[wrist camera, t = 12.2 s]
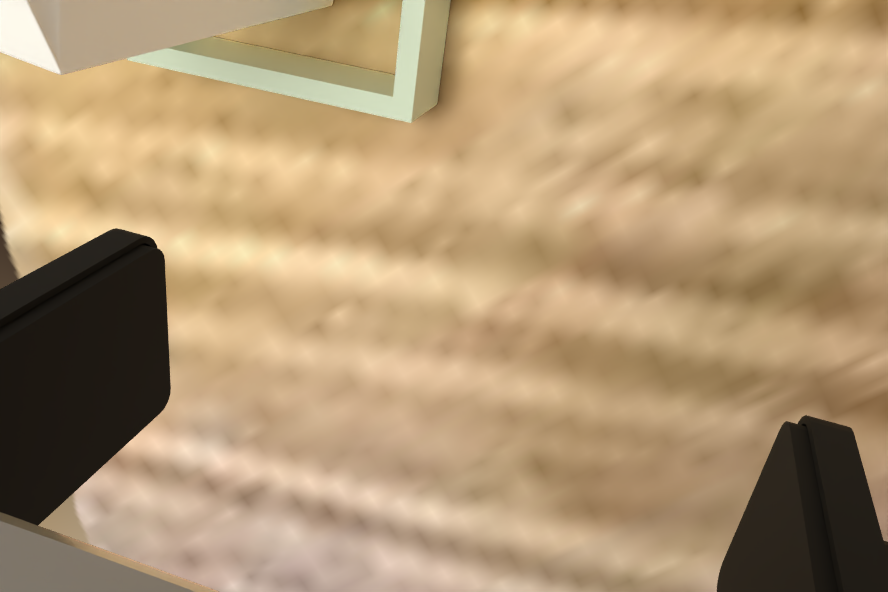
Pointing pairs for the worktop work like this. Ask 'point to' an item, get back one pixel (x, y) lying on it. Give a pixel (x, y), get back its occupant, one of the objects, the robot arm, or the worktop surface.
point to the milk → (125, 27)
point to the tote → (329, 67)
